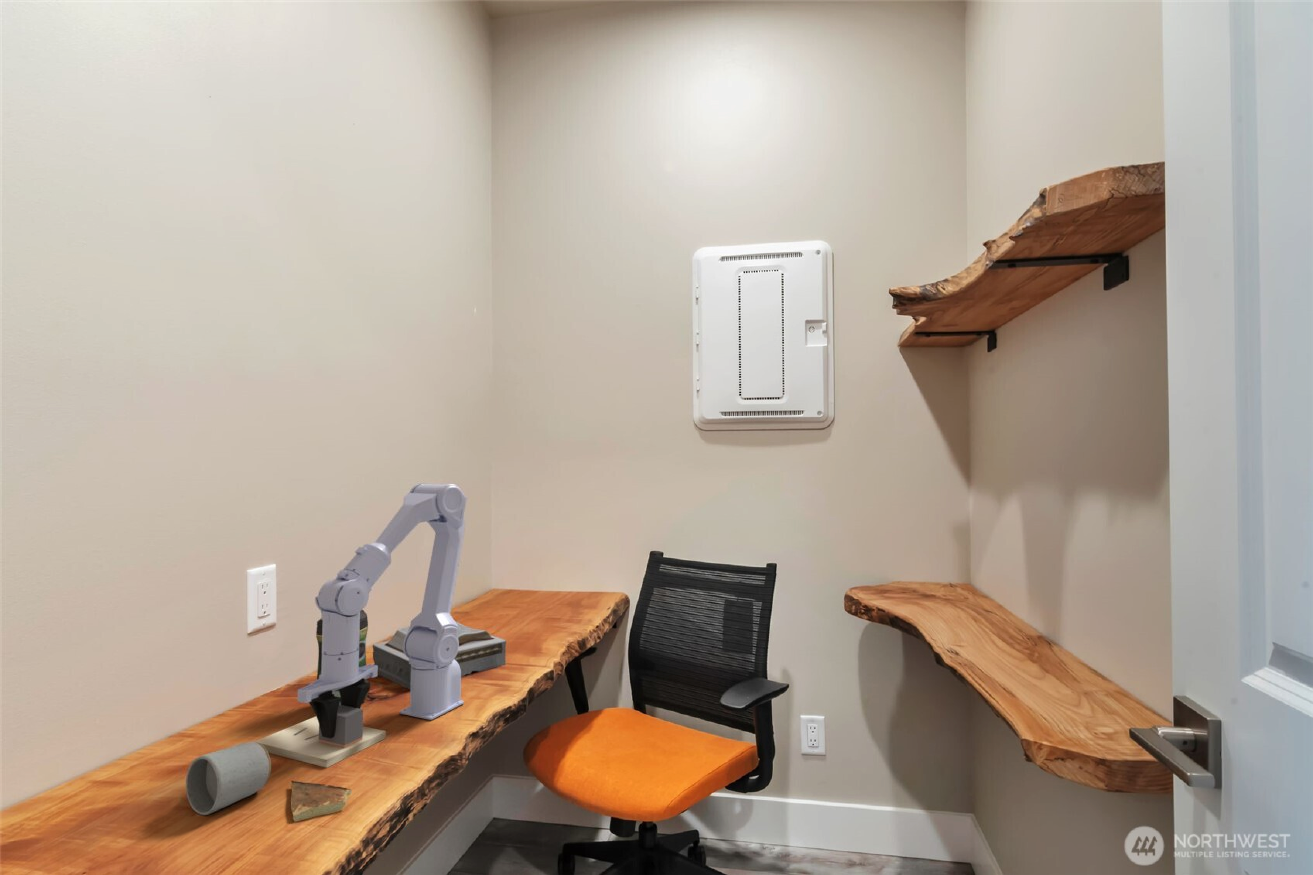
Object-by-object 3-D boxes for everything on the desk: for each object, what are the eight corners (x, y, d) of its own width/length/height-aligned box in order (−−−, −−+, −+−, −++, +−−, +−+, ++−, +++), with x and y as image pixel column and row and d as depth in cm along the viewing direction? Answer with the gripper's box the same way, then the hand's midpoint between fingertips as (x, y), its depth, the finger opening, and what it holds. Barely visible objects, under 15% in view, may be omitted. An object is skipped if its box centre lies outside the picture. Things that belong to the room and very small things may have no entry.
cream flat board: (316, 722, 119) (316, 715, 119) (385, 738, 112) (385, 730, 112) (253, 748, 108) (254, 741, 108) (326, 767, 101) (326, 759, 101)
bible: (366, 667, 152) (367, 625, 153) (476, 648, 169) (476, 610, 169) (394, 695, 134) (395, 647, 134) (514, 671, 150) (515, 628, 151)
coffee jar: (338, 695, 133) (340, 605, 134) (373, 698, 132) (375, 606, 132) (305, 713, 123) (308, 615, 124) (343, 716, 122) (345, 617, 123)
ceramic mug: (275, 793, 93) (276, 739, 94) (216, 821, 86) (218, 762, 86) (228, 779, 98) (229, 728, 98) (169, 805, 90) (171, 749, 91)
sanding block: (336, 733, 111) (337, 704, 111) (362, 739, 109) (363, 709, 109) (318, 741, 108) (319, 711, 108) (344, 747, 106) (345, 716, 106)
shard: (290, 790, 95) (291, 778, 95) (347, 779, 99) (348, 767, 99) (290, 826, 86) (290, 812, 86) (353, 811, 89) (353, 798, 90)
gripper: (357, 637, 117) (356, 713, 117) (285, 659, 104) (282, 744, 103) (387, 641, 115) (385, 719, 114) (316, 664, 101) (314, 752, 101)
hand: (338, 731), depth 109 cm, fingers closed on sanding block, 4 cm apart
